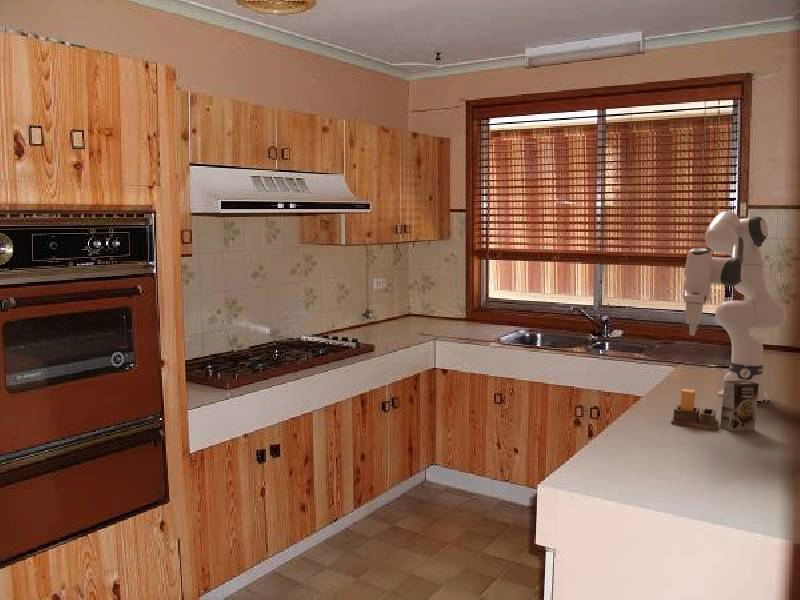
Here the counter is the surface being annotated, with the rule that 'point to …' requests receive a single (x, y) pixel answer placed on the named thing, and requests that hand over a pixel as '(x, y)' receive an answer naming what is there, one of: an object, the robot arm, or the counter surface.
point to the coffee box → (739, 405)
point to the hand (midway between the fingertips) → (693, 332)
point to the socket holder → (695, 418)
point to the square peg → (687, 400)
